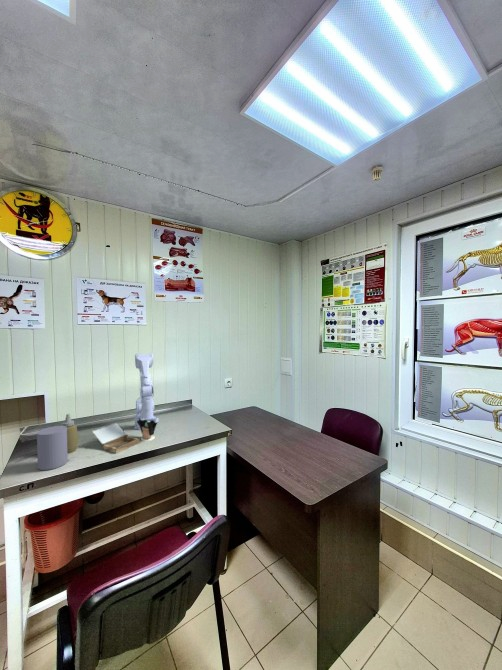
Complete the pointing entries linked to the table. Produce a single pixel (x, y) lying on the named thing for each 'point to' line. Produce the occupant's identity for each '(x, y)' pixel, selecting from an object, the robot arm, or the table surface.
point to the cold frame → (120, 443)
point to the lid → (108, 433)
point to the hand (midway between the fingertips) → (147, 433)
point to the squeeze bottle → (71, 434)
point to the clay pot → (146, 431)
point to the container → (52, 447)
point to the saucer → (148, 439)
